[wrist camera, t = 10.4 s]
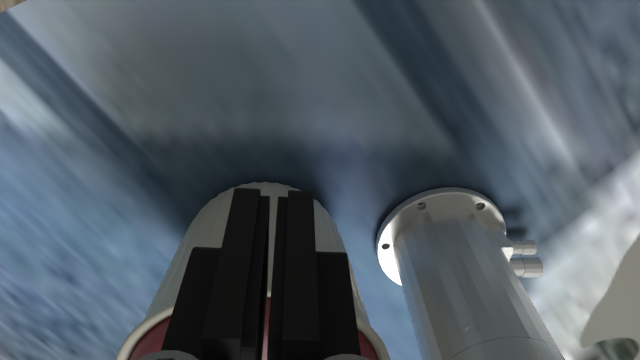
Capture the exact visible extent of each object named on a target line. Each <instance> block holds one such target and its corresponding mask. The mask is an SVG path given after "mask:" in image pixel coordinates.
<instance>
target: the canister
mask: <svg viewBox="0 0 640 360" xmlns="http://www.w3.org/2000/svg"><path fill="white" fill-rule="evenodd" d="M235 188H253V189H260V190H261V196H270V219H269V254H268V289H267V306H266V318H265V330H264V343H263V355H262V360H267V345H268V327H269V312H270V299H271V285H272V271H273V258H274V244H275V230H276V216H277V203H278V196H283V197H288V190H296V191H301V190H300V189H297V188H293V187H291V186H289V185H282V184H279V183H277V182H276V183H269V182H266V181H265V182H261V183H256V182H252V183H250V184H241V185H240V186H238V187H231V188H230V189H229V190H227V191H225V192H221V193H220V194H218V196H217V197H216V198H213V199H211V200H210V201H209V202H208V203H207V204H206V206H204V207H203V208H202V209H201V210H200V211H199V212H198V214H197V216H196V217H195V218H194V220H193V221H192V223H191V224H190V226H189V228H188V230H187V232H186V234H185V236H184V238H183V240H182V241H181V243H180V245H179V247H178V249H177V251H176V253H175V255H174V257H173V259H172V261H171V264H170V266H169V268H168V270H167V272H166V274H165V276H164V278H163V281H162V283H161V285H160V287H159V289H158V291H157V293H156V295H155V297H154V299H153V301H152V304H151V306H150V308H149V310H148V312H147V314H146V317H145V319H144V320H143V321H142V322H141V323H140V324H139V325H138V326H137V327H135V328H134V329H133V331H132V332H131V333H130V334H129V335H128V336H127V338H126V339H125V341H124V342H123V344H122V346H121V348H120V350H119V352H118V355H117V358H116V360H137V359H139V358H141V357H143V356H145V355H147V354H150V353H154V352H158V351H161V348H162V344H163V341H164V338H165V335H166V331H167V328H168V325H169V322H170V318H171V315H172V312H173V309H174V305H175V302H176V299H177V296H178V292H179V289H180V286H181V282H182V279H183V276H184V273H185V269H186V266H187V263H188V260H189V256H190V253H191V251H192V249H193V248H194V247H213V248H221V246H222V242H223V237H224V233H225V229H226V224H227V220H228V215H229V211H230V206H231V202H232V197H233V193H234V189H235ZM314 220H315V242H316V251H321V252H346V250H345V247H344V244H343V242H342V239H341V236H340V234H339V232H338V229H337V227H336V224H335V222H334V221H333V219H332V218H331V217H330V215H329V213H328V211H327V210H326V209H325V208H324V207H322V206H321V204H320V203H319V202H318V201H317V200H315V199H314ZM347 256H348V255H347ZM348 261H349V258H348ZM349 269H350V276H351V284H352V291H353V299H354V306H355V314H356V321H357V329H358V336H359V344H360V351H361V356H362V357H366V358H369V359H370V360H390V358H389V354H388V352H387V349H386V347H385V345H384V343H383V341H382V340H381V338H380V337H379V336H378V334H377V333H376V332H375V331H374V329H373V328H372V327H371V326H370V323H369V319H368V316H367V313H366V310H365V307H364V304H363V301H362V298H361V295H360V292H359V288H358V285H357V282H356V279H355V276H354V273H353V270H352V267H351V264H350V261H349Z"/></svg>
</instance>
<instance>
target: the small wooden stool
mask: <svg viewBox="0 0 640 360" xmlns="http://www.w3.org/2000/svg"><path fill="white" fill-rule="evenodd" d="M24 1H26V0H0V13H1V12H3V11H5V10H7V9H9V8H11V7H13V6H15V5H17V4H19V3H22V2H24Z"/></svg>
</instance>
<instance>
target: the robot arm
mask: <svg viewBox="0 0 640 360" xmlns="http://www.w3.org/2000/svg"><path fill="white" fill-rule="evenodd" d="M269 219H270V196H261V190H260V189H253V188H235V189H234V193H233V197H232V202H231V206H230V211H229V215H228V220H227V224H226V229H225V233H224V237H223V242H222V246H221V248H213V247H194V248H193V249H192V251H191V253H190V256H189V260H188V263H187V266H186V269H185V273H184V276H183V279H182V282H181V286H180V289H179V292H178V296H177V299H176V302H175V305H174V309H173V312H172V315H171V318H170V322H169V325H168V328H167V331H166V335H165V338H164V341H163V344H162V348H161V351H158V352H154V353H150V354H147V355H145V356H143V357H141V358H139V359H137V360H262V355H263V343H264V330H265V318H266V306H267V289H268V254H269ZM536 251H537V245H536V243H535V241H534V240H519V241H511V239H510V238H507V237H506V224H505V222H504V219H503V216H502V214H501V213H500V211H499V210H498V208H497V207H496V205H495V204H494V203H493V202H492V201H491V200H490V199H489V198H487V197H485V196H484V195H482V194H481V193H478V192H476V191H473V190H470V189H465V188H459V187H443V188H437V189H431V190H428V191H425V192H422V193H419V194H417V195H415V196H413V197H411V198H409V199H407V200H405V201H404V202H402V203H401V204H400V205H398V206H397V207H396V208H395V209H394V210H393V211H392V212H391V213H390V214H389V215H388V216H387V217H386V219H385V220H384V222H383V223H382V225H381V227H380V229H379V231H378V234H377V239H376V253H377V257H378V262H379V264H380V266H381V268H382V270H383V271H384V273H385V274H386V275H387V276H388V277H389V278H390V279H391V280H393V281H394V282H395V283H397V284H399V285H401V286H402V288H403V292H404V295H405V299H406V303H407V306H408V310H409V313H410V317H411V321H412V324H413V328H414V331H415V335H416V339H417V342H418V346H419V349H420V353H421V357H422V360H565V359H564V357H563V356H562V354H561V352H560V351H559V349H558V347H557V345H556V344H555V342H554V340H553V338H552V337H551V335H550V333H549V331H548V330H547V328H546V326H545V324H544V323H543V321H542V319H541V317H540V316H539V314H538V312H537V310H536V308H535V307H534V305H533V303H532V301H531V300H530V298H529V296H528V294H527V293H526V291H525V289H524V287H523V286H522V284H521V282H520V280H519V279H518V277H517V276H520V277H540V276H541V275H542V272H543V265H542V262H541V260H540V259H539V258H538V257H518V258H510V257H511V256H512V254H520V255H534V254H535V253H536ZM267 360H370V359H369V358H366V357H362V356H361V351H360V344H359V336H358V329H357V321H356V314H355V306H354V299H353V291H352V284H351V276H350V269H349V261H348V256H347V253H346V252H321V251H316V242H315V220H314V198H313V191H296V190H288V197H283V196H278V203H277V216H276V230H275V244H274V258H273V271H272V285H271V299H270V312H269V327H268V345H267Z"/></svg>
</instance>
